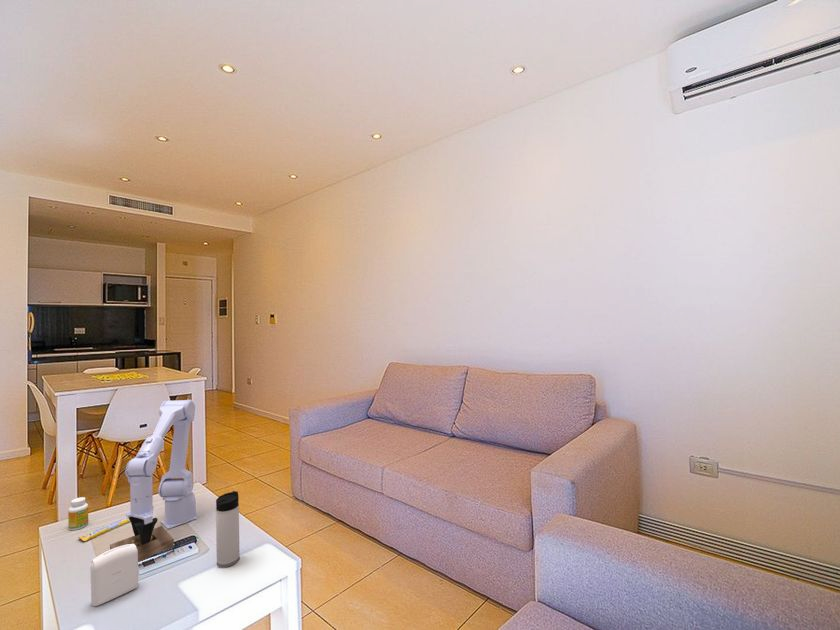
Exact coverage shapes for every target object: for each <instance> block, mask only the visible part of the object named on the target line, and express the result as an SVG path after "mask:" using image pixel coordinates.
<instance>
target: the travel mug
mask: <svg viewBox="0 0 840 630" xmlns="http://www.w3.org/2000/svg"><path fill="white" fill-rule="evenodd" d="M239 498H240V497H239V491H236V490H235V491H234V490H232V491H231V492H226V493H224V494H222V495H219V496H218V497H217V498H216V500H215V506H216V507H215V525H216V526H215V529H216V530H215V531H216V533H215V534H216V535H215V536H216V537H215V539H216V543H215V544H216V566H217V567H219V568H223V569H225V568H230V567H232V566H234V565H235V564H237V563H238V562H239V560H240V553H241V552H240V551H241V550H240V506H239V505H240V503H239Z"/></svg>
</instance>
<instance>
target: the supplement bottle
mask: <svg viewBox="0 0 840 630" xmlns="http://www.w3.org/2000/svg"><path fill="white" fill-rule="evenodd" d="M87 526H89V504H88V503H87V502H86V497H83V496H81V497H77V498H74V499H72V500H71V501H70V507H68V530H69V531H77V530H81V529H84V528H85V527H87Z"/></svg>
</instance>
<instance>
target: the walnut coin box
mask: <svg viewBox="0 0 840 630" xmlns="http://www.w3.org/2000/svg"><path fill="white" fill-rule="evenodd" d="M138 538H140V536H139V535H137V536H135V535H133V536H130V537H128V538H125V539H121V540H119V541H117V542H116V541H115V542H112V543H110V544H109V550H111V549H113V548H116V547H119V546H123V545H127V544H131V541H132V540H135V539H138ZM152 539H153V541H150V542H149V543H146V544H144V545H140V546H137V547H136V548H137V550H138V562H140V561H143V560H145V559H147V558H149V557H151V556H153V555H154V554H157V553H159V552H161V551H165V550H167V549H170V548H172V547H174V548H175V538H174V537H173V536H172V535H171V534H170V533H169V532H168V531H167V530H166V529H165V528H164V527H163V525H160V526H158V527H154V529H153V532H152Z"/></svg>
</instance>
